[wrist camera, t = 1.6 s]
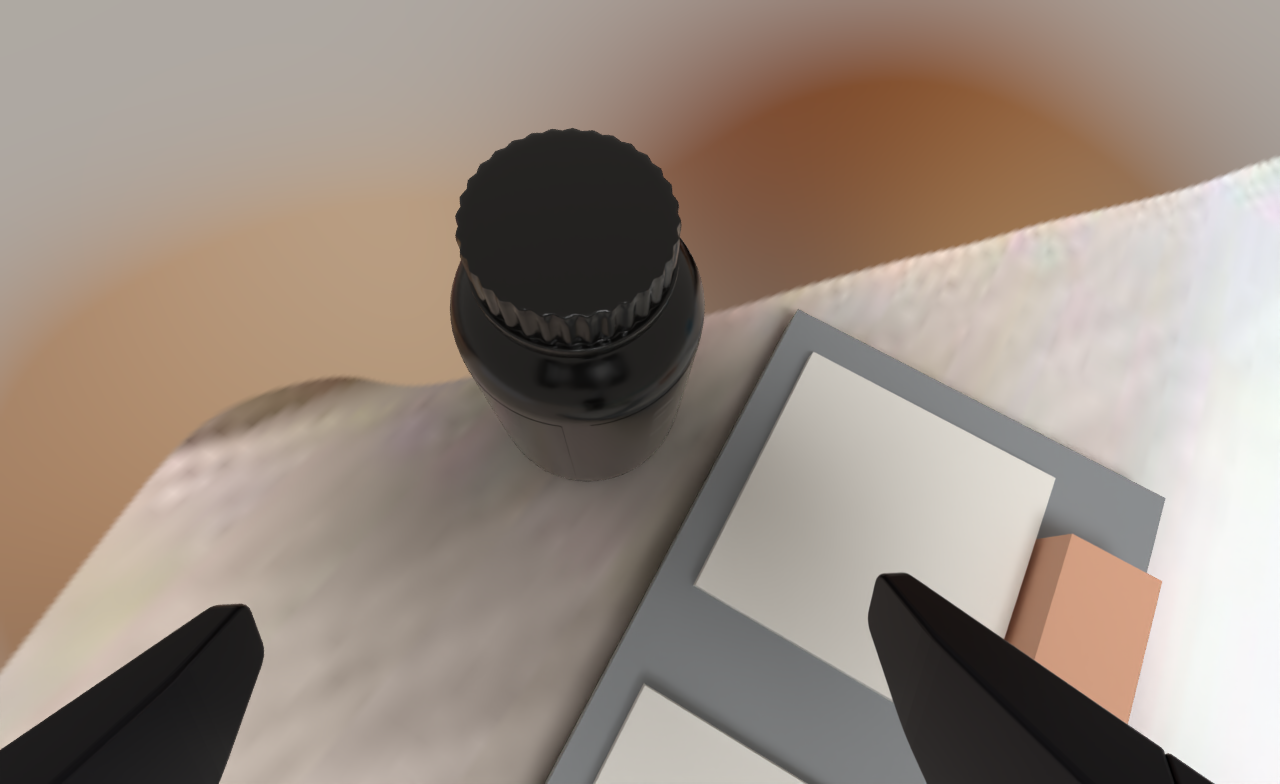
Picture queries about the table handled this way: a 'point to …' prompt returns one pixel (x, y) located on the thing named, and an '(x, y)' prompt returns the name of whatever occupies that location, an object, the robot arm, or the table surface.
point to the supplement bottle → (576, 300)
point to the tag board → (860, 576)
